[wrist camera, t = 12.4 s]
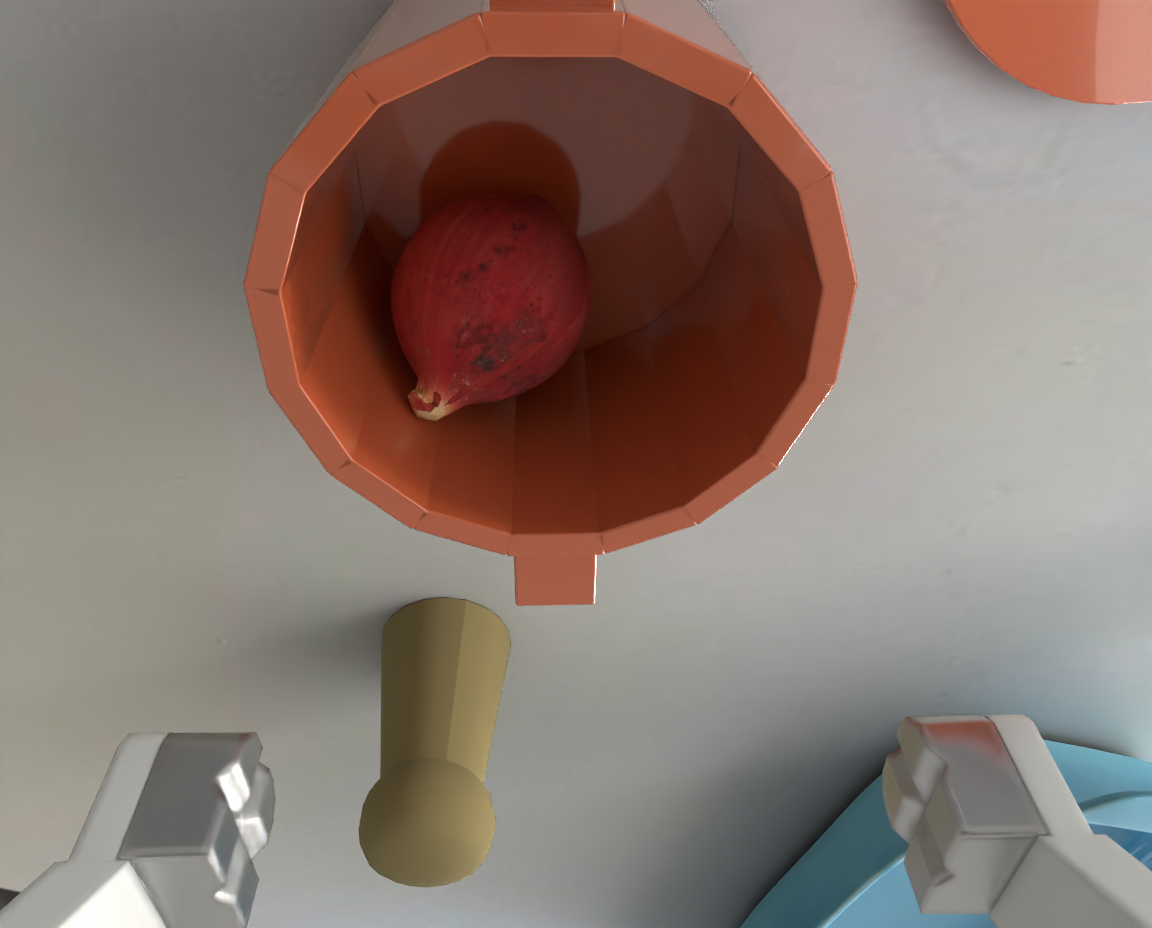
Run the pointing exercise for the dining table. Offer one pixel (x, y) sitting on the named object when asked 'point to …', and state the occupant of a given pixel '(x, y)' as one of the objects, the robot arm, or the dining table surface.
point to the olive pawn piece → (435, 742)
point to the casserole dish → (876, 851)
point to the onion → (488, 300)
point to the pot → (613, 254)
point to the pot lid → (1066, 45)
